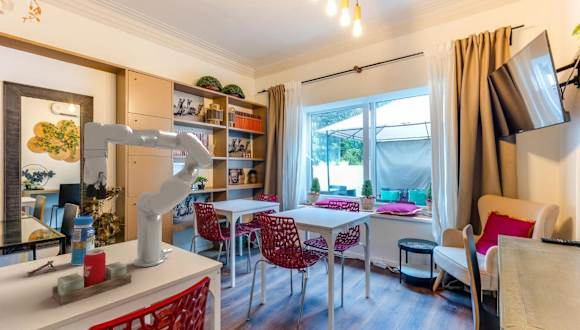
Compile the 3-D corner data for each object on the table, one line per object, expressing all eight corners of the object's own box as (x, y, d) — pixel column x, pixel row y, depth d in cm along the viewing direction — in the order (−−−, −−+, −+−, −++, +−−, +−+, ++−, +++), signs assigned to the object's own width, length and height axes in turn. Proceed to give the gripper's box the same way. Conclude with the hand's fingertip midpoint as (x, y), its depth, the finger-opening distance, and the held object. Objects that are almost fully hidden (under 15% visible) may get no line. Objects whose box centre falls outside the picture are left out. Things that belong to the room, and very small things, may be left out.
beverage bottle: (67, 263, 114) (68, 217, 114) (91, 257, 121) (91, 214, 121) (73, 267, 109) (74, 220, 109) (97, 262, 116) (98, 217, 116)
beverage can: (91, 281, 95) (91, 248, 94) (109, 281, 95) (109, 248, 95) (78, 290, 88) (79, 254, 88) (97, 289, 89) (98, 254, 89)
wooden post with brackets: (58, 268, 106) (52, 259, 105) (33, 282, 101) (26, 273, 100) (58, 267, 107) (52, 258, 106) (33, 280, 102) (26, 271, 101)
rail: (119, 275, 103) (119, 260, 103) (131, 282, 97) (131, 266, 97) (52, 295, 86) (52, 277, 86) (61, 305, 80) (61, 286, 80)
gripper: (76, 154, 104) (76, 197, 104) (93, 154, 93) (92, 201, 94) (99, 155, 110) (98, 195, 110) (116, 154, 100) (116, 199, 100)
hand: (95, 198), depth 102 cm, fingers open, 9 cm apart
